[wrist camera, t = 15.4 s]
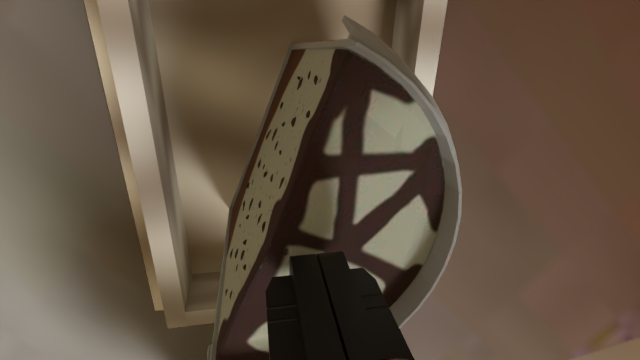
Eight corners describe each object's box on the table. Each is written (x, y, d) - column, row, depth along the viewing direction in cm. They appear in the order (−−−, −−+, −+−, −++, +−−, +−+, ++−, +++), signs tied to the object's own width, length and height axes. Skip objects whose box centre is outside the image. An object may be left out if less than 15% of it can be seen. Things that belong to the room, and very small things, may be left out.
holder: (69, -86, 14) (18, -112, 11) (450, -62, 17) (496, -77, 14) (156, 304, 23) (142, 352, 19) (399, 278, 25) (420, 316, 22)
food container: (318, 254, 23) (365, 416, 14) (220, 230, 21) (201, 401, 12) (412, 64, 18) (567, 117, 10) (302, 11, 16) (367, 16, 8)
